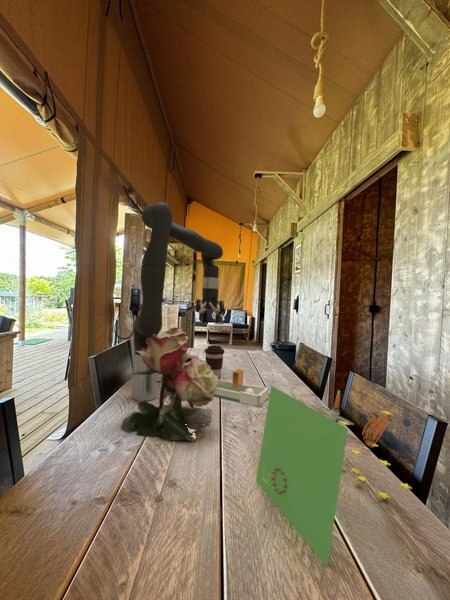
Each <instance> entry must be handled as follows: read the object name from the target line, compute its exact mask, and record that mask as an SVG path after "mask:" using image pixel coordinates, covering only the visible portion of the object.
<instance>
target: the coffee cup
mask: <svg viewBox="0 0 450 600" xmlns="http://www.w3.org/2000/svg"><path fill="white" fill-rule="evenodd" d="M204 353H205V358H204V359H205V361H206V362H207V364H208V365H209V366H210V367H211V371H213V373H214V375H216V376H218V377H219V378H220V377H221V376H222V369H223V363H224V354H225V349H224V348H222V346H220V345H208V346H207V348H205V349H204Z"/></svg>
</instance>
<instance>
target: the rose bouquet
mask: <svg viewBox="0 0 450 600" xmlns="http://www.w3.org/2000/svg"><path fill="white" fill-rule="evenodd" d="M186 335H188V333H187V332H184V331H183V328H181V327H172V328H169V329H167V330H165V331H162V332H161V333H160V335H159V334H157V335H155V334H153V336H154V337H155V338H154V337H150V338H146V343H147V344H148V347H147V348H148V349H142V350H141V351H135V350H134V353H135V352H139V354H140V355H141V357H142V359H143V362H144V363H145V364H146V365H147V366H148V367H149V368H150V370H148V371H138V372H135V373H134V372H133V373H132V374H131V376H132V375H147V374H154V373H158V375H162V376H161V380H160V379H158V381H156V383H158V384H159V383H160V384H161V387H160V390H159V391H160V392H159V402H158V403H159V404H158V405H159V406H155V404H153V403H150V402H148V401H143V400H136V402H135V404H137V408H138V410H139V411H133V412H131V413H130V414H129V415H128V416H126V417H124V418H123V420H122V425H121V426H120V428H121V429H120V430H122V431H123V432H124V433H127V434H132V433H136V434H135V435H136V436H142V437H149V438H163V439H166V440H171V441H185V440H187V441H190V442H196V440H195V439H194V438H193V437H191V436H192V435H193V434H192V433H193V432H192V433H190V432H188V428H190V429H194V430H196V431H194V433H195V434H202V432H201V428H204V427H208V426H209V425H210V422H211V420H212V414H213V410H212V409H211V408H207V409H206V408H201V407H203V406H207V405H208V404H209V403H211V402H213V398H214V397H215V396H214V393H215V391H216V388H217V385H218V382H219V379H220V377H218V376H216V375H214V373H213V371H211V367H210V366H209V365H208V364H207V362H206V360H202V359H200V358H199V356H198V355H193V354H189V353H188V349H189V348H190V347H189V346H187V343H188V340H189V337H188V336H186ZM167 397H168V399H169V400H170V403H169V404H168V405H166V404H164V400H165V399H166V398H167ZM182 402H187V403H188V406H189V407H182ZM185 424H187V425H185ZM203 424H204V425H203ZM187 427H188V428H187Z"/></svg>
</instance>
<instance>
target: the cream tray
mask: <svg viewBox="0 0 450 600" xmlns="http://www.w3.org/2000/svg"><path fill="white" fill-rule="evenodd" d="M248 388H251V389H253V390H254V393H255V394H252V393H247V392H245V390H246V389H248ZM213 397H215V398H221V399H223V400H229V401H233V402H238V403H242V404H245V405H249V406H254V407H260V406H261V405H263V404H264V403H265V401H267V400H269V397H270V388H269V387H266V386H260V385H255V384H244V383H243V391H241V392H236V391H232V381H230V380H224V379H220V378H219V382H218V385H217V388H216V391H215V393H214V396H213Z"/></svg>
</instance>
